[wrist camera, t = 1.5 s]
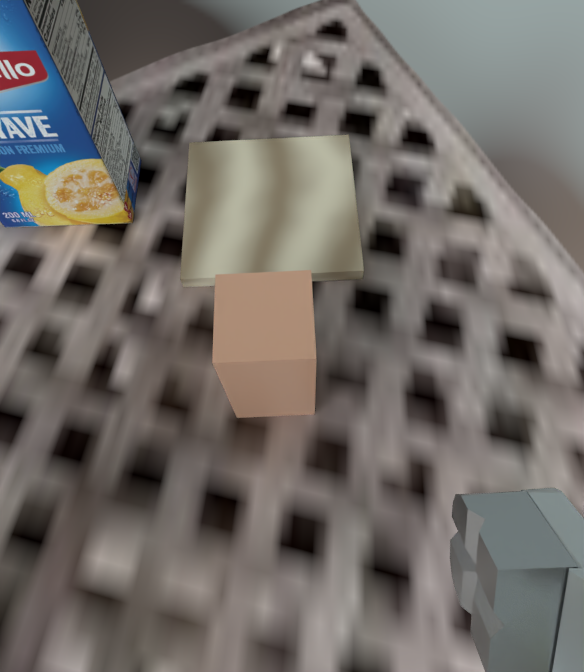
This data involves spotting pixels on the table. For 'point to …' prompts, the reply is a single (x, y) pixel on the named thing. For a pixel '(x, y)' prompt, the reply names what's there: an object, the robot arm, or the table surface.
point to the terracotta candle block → (266, 342)
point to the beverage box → (59, 123)
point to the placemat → (271, 209)
